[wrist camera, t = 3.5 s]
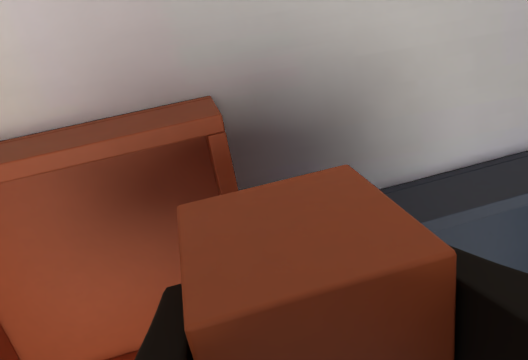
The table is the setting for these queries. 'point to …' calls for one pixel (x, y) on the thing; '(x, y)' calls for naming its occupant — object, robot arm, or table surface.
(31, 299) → the terracotta bin
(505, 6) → the table surface
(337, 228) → the terracotta block
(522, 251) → the slate bin
